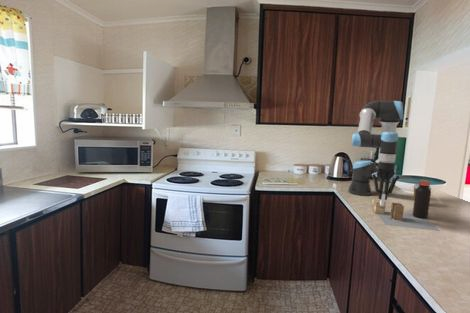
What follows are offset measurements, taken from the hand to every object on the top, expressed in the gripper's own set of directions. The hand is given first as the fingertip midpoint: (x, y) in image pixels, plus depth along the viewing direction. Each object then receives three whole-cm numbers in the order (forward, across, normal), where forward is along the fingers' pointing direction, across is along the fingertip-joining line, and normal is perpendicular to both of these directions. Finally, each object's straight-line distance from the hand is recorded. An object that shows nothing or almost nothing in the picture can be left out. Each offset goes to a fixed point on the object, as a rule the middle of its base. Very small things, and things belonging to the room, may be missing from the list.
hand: (381, 205), depth 146 cm
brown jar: (+7, +31, +36) cm, 48 cm away
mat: (+7, +12, 0) cm, 13 cm away
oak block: (+7, 0, +8) cm, 10 cm away
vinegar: (+7, +22, +8) cm, 24 cm away
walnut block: (+7, +8, 0) cm, 10 cm away
